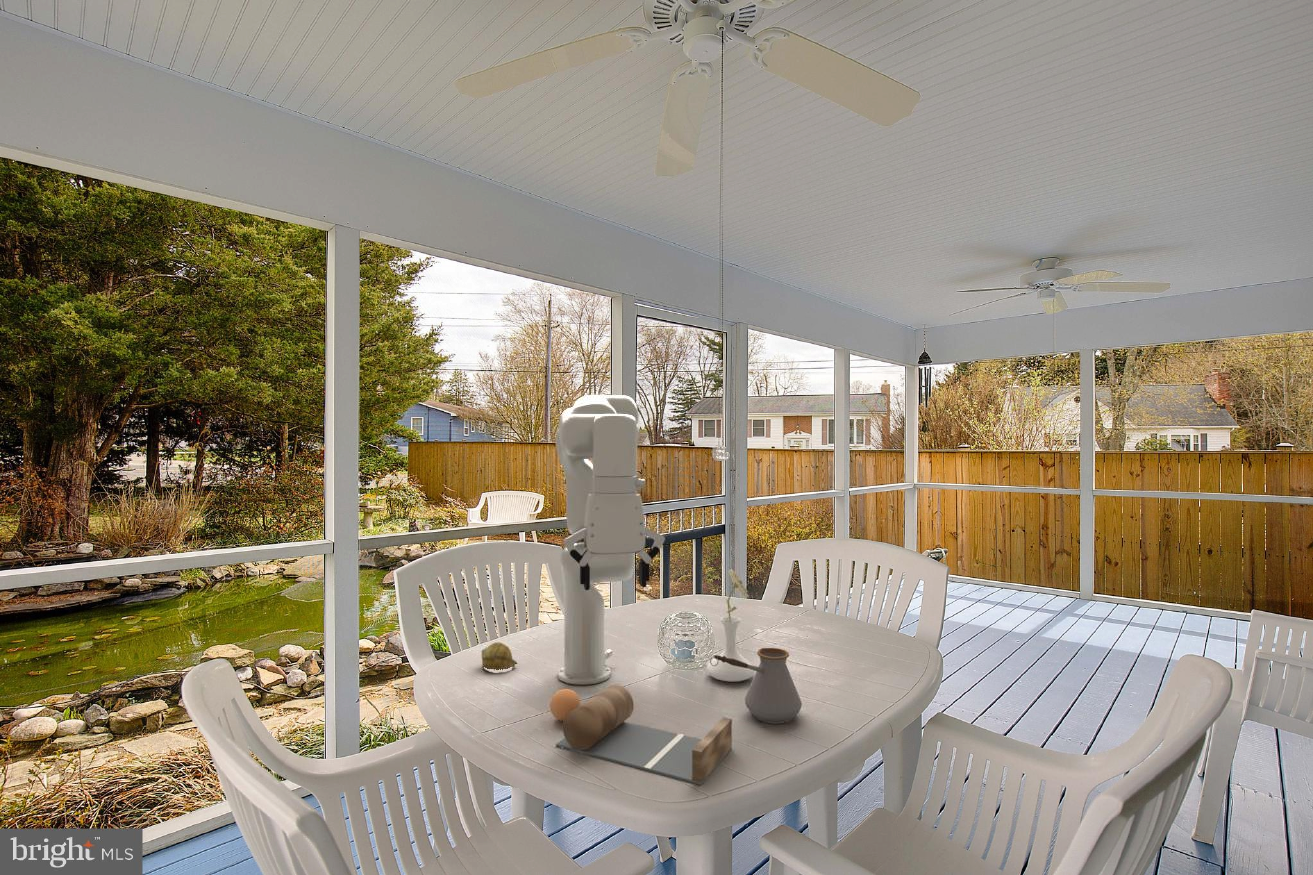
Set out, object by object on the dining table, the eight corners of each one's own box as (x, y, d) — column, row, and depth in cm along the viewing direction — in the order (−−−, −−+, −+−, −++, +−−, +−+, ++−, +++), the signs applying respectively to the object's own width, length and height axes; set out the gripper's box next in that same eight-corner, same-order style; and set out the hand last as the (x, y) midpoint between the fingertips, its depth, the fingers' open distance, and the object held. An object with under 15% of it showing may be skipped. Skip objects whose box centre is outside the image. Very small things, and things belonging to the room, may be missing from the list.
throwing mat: (596, 717, 132) (596, 714, 132) (731, 748, 118) (731, 745, 118) (555, 746, 119) (555, 743, 119) (701, 785, 106) (701, 781, 106)
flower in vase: (753, 688, 147) (753, 577, 147) (703, 684, 149) (703, 575, 149) (756, 668, 160) (756, 566, 160) (710, 664, 162) (710, 564, 162)
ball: (561, 711, 134) (561, 682, 134) (585, 716, 132) (586, 687, 132) (543, 722, 129) (543, 692, 129) (568, 728, 126) (568, 697, 126)
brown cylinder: (603, 716, 131) (603, 681, 131) (633, 723, 128) (633, 687, 128) (562, 745, 118) (562, 707, 118) (594, 754, 115) (595, 714, 115)
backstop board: (723, 744, 119) (723, 717, 119) (731, 746, 118) (731, 718, 118) (692, 780, 107) (692, 749, 107) (701, 782, 106) (701, 751, 106)
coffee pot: (774, 699, 140) (774, 630, 140) (813, 719, 131) (814, 644, 131) (694, 723, 129) (694, 647, 129) (731, 746, 119) (731, 664, 119)
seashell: (513, 684, 160) (524, 653, 165) (508, 675, 154) (520, 643, 159) (475, 675, 161) (488, 644, 166) (470, 665, 155) (483, 634, 160)
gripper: (659, 484, 116) (659, 579, 116) (562, 485, 112) (561, 584, 112) (669, 487, 109) (669, 589, 109) (565, 489, 105) (565, 594, 105)
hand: (614, 586), depth 111 cm, fingers open, 9 cm apart
